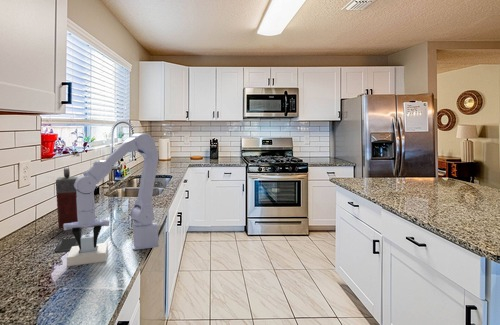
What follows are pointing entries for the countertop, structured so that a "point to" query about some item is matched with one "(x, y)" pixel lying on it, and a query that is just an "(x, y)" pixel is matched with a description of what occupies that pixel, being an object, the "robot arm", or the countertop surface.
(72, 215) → the dark red french press
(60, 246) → the phone
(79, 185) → the robot arm
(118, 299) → the countertop surface
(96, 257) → the block
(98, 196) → the countertop surface
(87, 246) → the block
